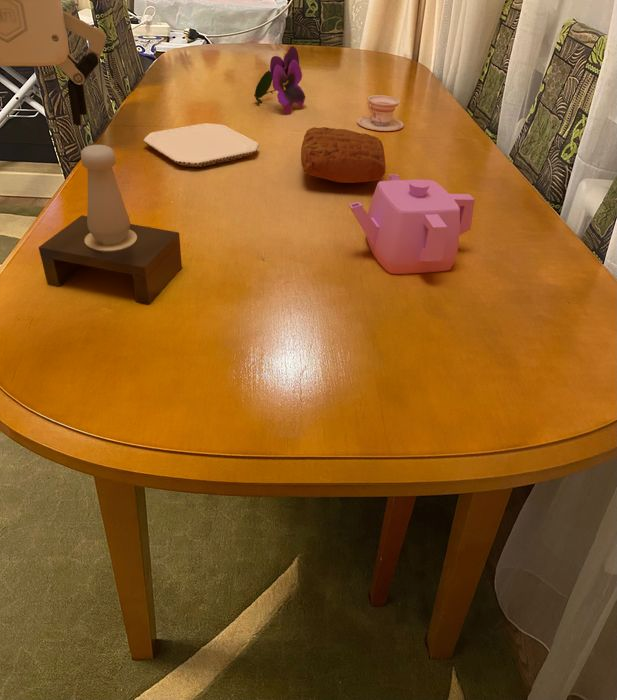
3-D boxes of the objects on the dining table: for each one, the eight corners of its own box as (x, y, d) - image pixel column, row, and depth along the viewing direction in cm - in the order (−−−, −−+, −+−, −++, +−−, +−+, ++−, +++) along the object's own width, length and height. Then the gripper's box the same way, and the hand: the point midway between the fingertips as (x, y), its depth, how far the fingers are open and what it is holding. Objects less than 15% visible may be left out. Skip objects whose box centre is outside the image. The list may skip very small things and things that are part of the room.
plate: (184, 175, 122) (183, 164, 121) (137, 144, 134) (136, 134, 133) (267, 156, 133) (267, 146, 131) (217, 130, 145) (216, 120, 144)
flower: (250, 129, 162) (288, 114, 154) (227, 72, 157) (266, 53, 148) (279, 117, 172) (317, 102, 164) (259, 62, 167) (297, 44, 159)
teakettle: (434, 290, 92) (451, 215, 84) (337, 257, 98) (345, 184, 91) (472, 248, 104) (490, 179, 96) (384, 221, 110) (393, 154, 103)
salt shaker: (140, 234, 88) (128, 144, 80) (117, 251, 83) (103, 158, 76) (105, 226, 89) (90, 137, 81) (81, 242, 85) (63, 150, 77)
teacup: (412, 125, 156) (416, 100, 153) (385, 135, 149) (388, 109, 145) (375, 114, 162) (378, 90, 159) (347, 123, 155) (349, 98, 151)
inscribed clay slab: (382, 200, 118) (388, 160, 113) (295, 193, 118) (297, 152, 113) (381, 160, 135) (386, 123, 130) (305, 153, 136) (307, 117, 131)
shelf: (47, 284, 87) (37, 245, 83) (88, 250, 96) (81, 213, 92) (149, 305, 84) (144, 266, 81) (182, 267, 93) (179, 231, 89)
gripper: (-143, -89, 47) (-75, 136, 57) (92, -73, 51) (117, 132, 61) (-118, -92, 52) (-60, 113, 63) (92, -78, 57) (115, 111, 67)
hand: (28, 122), depth 62 cm, fingers open, 9 cm apart
